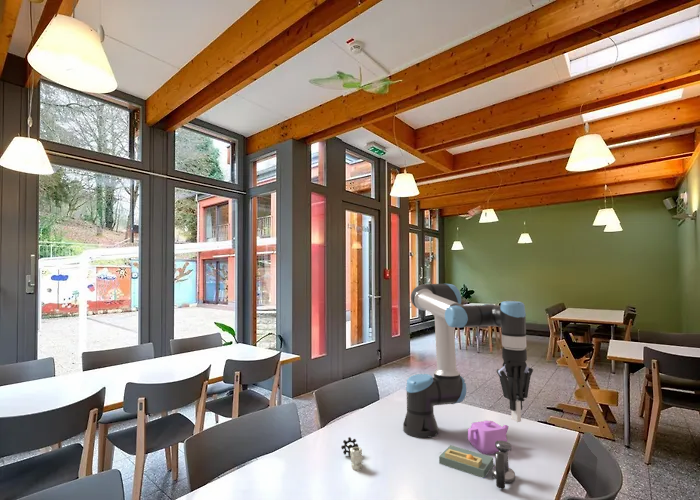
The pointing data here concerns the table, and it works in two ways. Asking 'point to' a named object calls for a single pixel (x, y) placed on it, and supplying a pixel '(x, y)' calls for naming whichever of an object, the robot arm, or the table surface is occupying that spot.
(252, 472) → the table surface
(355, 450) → the valve
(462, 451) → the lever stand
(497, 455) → the cam capstan
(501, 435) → the teapot
